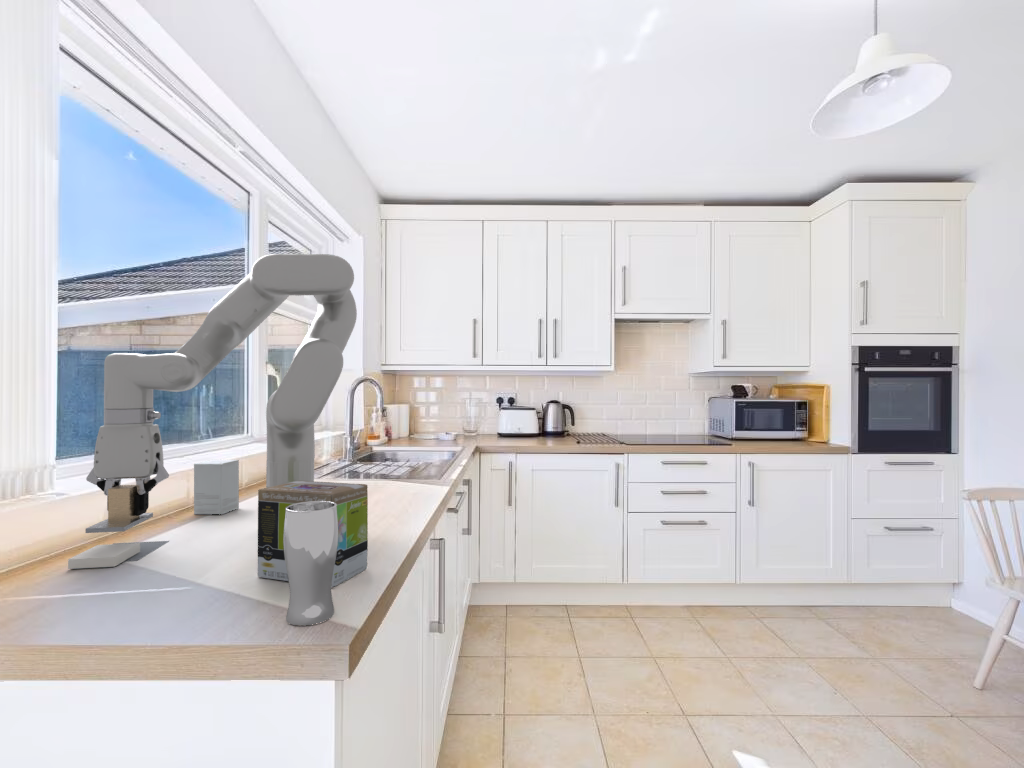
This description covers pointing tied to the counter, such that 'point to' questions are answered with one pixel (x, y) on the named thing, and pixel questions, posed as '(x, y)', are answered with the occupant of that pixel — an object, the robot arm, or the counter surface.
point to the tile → (104, 556)
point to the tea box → (349, 525)
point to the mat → (145, 549)
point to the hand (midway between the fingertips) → (128, 513)
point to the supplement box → (216, 486)
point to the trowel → (120, 511)
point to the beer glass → (310, 560)
